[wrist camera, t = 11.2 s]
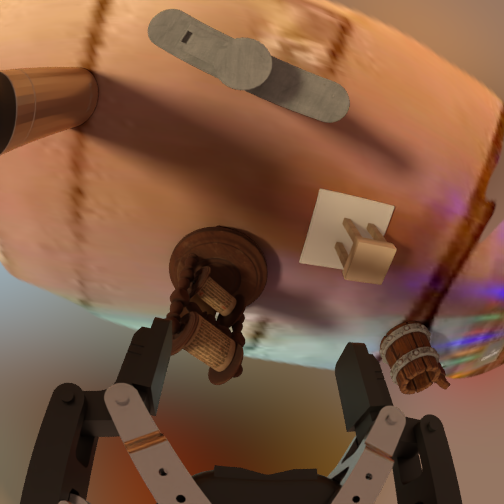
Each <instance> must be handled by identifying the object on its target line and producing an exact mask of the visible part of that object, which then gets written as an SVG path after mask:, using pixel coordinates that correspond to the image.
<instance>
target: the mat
mask: <svg viewBox="0 0 504 504" xmlns="http://www.w3.org/2000/svg"><path fill="white" fill-rule="evenodd" d="M393 210H394V206H393V205H389V204H385V203H381V202H377V201H373V200H369V199H365V198H361V197H357V196H353V195H348V194H344V193H340V192H335V191H331V190H326V189H321V188H320V190H319V193H318V197H317V201H316V204H315V208H314V212H313V215H312V219H311V222H310V226H309V230H308V233H307V237H306V240H305V243H304V247H303V250H302V254H301V257H300V260H299V263H304V264H310V265H317V266H323V267H330V268H336V269H344V268H343V266H342V264H341V261H340V259H339V257H338V255H337V252H336V250H335V248H334V247H335V244H336V242H341V243H343V245H344V247H345V249H346V251H347V253H348V255H349V253H350V250H351V248H352V245H353V242H352V240H351V238H350V236H349V235H348V233H347V231H346V229H345V228H344V226H343V224H342V223H343V220H344V218H348V219H351V221H352V222H353V224H354V225H355V227H356V228H357V230H358V231H359V233H360V234H361V236H362V237H364V238H369V239H373V238H372V236H371V235H370V234H369V232H368V231H367V229H366V228H367V225H368V223H371V224H374V225H375V226H376V227H377V229H378V230H379V231H380V233H381V234H382V235H383V237H384V234H385V232H386V229H387V226H388V224H389V221H390V218H391V216H392V213H393Z"/></svg>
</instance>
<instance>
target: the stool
mask: <svg viewBox="0 0 504 504" xmlns="http://www.w3.org/2000/svg"><path fill="white" fill-rule="evenodd" d="M342 224H343V226H344V228H345V229H346V231H347V233H348V235H349V236H350V238H351V240H352V242H353V245H352V248H351V250H350V253H349V255H348V253H347V251H346V249H345V247H344V245H343V243H341V242H336V244H335V247H334V248H335V250H336V252H337V255H338V257H339V259H340V261H341V264H342V266H343V268H344V269H343V271H342V274H343V276H344V279H345V280H351V281H358V282H365V283H372V284H379V285H381V284H382V282H383V280H384V278H385V275H386V273H387V271H388V269H389V267H390V264H391V262H392V260H393V257H394V255H395V253H396V250H397V249H396V247H395V246H394V245H393V243H388V242H387V241H386V239H385V238H384V237H383V235H382V234H381V233H380V231H379V230H378V229H377V227H376V226H375V225H374V224H371V223H368V225H367V228H366V229H367V231H368V232H369V234H370V235H371V236H372V238H373V239H369V238H364V237H362V236H361V234H360V233H359V231H358V230H357V228H356V227H355V225H354V224H353V222H352V221H351V219H348V218H344V220H343V223H342Z"/></svg>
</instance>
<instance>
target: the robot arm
mask: <svg viewBox="0 0 504 504" xmlns="http://www.w3.org/2000/svg"><path fill="white" fill-rule="evenodd" d="M97 100H98V86H97V82H96V80H95V78H94V76H93V75H92V74H91V73H90V72H89V71H88V70H86V69H84V68H79V67H38V68H20V69H10V70H0V155H2V154H4V153H6V152H9V151H11V150H13V149H16V148H18V147H20V146H23V145H25V144H28V143H30V142H33V141H36V140H38V139H41V138H44V137H46V136H49V135H52V134H55V133H58V132H61V131H64V130H67V129H70V128H73V127H77V126H79V125H81V124H83V123H84V122H85V121H87V120H88V118H89V117H90V116H91V115H92V113H93V111H94V110H95V107H96V104H97ZM171 350H172V320H168V319H162V318H157V317H155V318H154V321H153V323H152V326H151V328H147V327H141V328H140V329H139V330H138V331H137V332H136V333H135V334H134V336H133V338H132V341H131V344H130V346H129V349H128V352H127V353H126V356H125V359H124V361H123V364H122V367H121V370H120V372H119V375H118V377H117V380H116V382H115V383H114V384H113V385H112V386H110V387H109V388H108V389H106V390H102V391H82V390H81V388H80V387H79V386H77V385H76V384H73V383H64V384H61V385H59V386H58V387H57V388H56V389H55V390H54V392H53V394H52V397H51V399H50V402H49V405H48V407H47V410H46V413H45V416H44V419H43V422H42V424H41V427H40V431H39V434H38V437H37V440H36V443H35V446H34V450H33V453H32V456H31V460H30V464H29V467H28V471H27V475H26V479H25V483H24V487H23V492H22V497H21V502H20V504H90V503H89V502H87V501H86V497H87V492H88V486H89V481H90V475H91V470H92V465H93V460H94V455H95V451H96V447H97V442H98V438H99V437H112V436H113V437H114V436H120V437H121V439H122V441H123V443H124V445H125V447H126V449H127V451H128V453H129V454H130V457H131V459H132V460H133V462H134V464H135V466H136V468H137V470H138V471H139V473H140V475H141V476H142V478H143V480H144V482H145V483H146V485H147V487H148V488H149V489H150V492H151V493H152V495H153V496H154V498H155V500H156V501H157V503H156V504H374V503H375V501H376V499H377V497H378V495H379V493H380V491H381V489H382V487H383V485H384V483H385V481H386V479H387V477H388V475H389V473H390V471H391V469H392V468H393V474H394V481H395V488H396V495H397V501H398V504H462V500H461V495H460V490H459V485H458V481H457V477H456V472H455V468H454V464H453V460H452V456H451V452H450V449H449V445H448V441H447V438H446V435H445V431H444V428H443V425H442V423H441V421H440V420H439V418H437V417H436V416H434V415H425V416H424V417H423V418H422V419H421V420H417V419H413V418H408V417H405V415H404V414H403V412H402V411H401V410H400V409H399V408H397V407H394V406H393V403H392V400H391V397H390V394H389V391H388V388H387V385H386V382H385V380H384V376H383V373H382V370H381V367H380V364H379V362H378V361H377V359H376V358H375V357H374V356H373V354H369V353H368V350H367V347H366V345H365V344H364V343H351V342H349V343H348V344H347V345H346V347H345V349H344V351H343V352H342V354H341V356H340V358H339V360H338V361H337V363H336V367H335V376H336V380H337V385H338V390H339V395H340V399H341V404H342V409H343V414H344V419H345V424H346V430H347V432H351V431H355V432H356V436H355V437H354V439H353V440H352V442H351V444H350V445H349V447H348V449H347V451H346V452H345V454H344V456H343V457H342V459H341V460H340V462H339V463H338V465H337V466H336V468H335V469H334V470H333V471H332V472H331V473H330V474H329V476H328V477H325V476H322V475H319V474H317V469H293V470H289V471H284V472H280V473H275V474H271V475H265V474H261V473H257V472H254V471H250V470H247V469H243V468H237V467H225V466H216V465H215V467H214V470H211V471H205V472H201V473H198V474H195V475H193V476H191V475H190V474H189V473H188V471H187V470H186V468H185V467H184V465H183V464H182V462H181V461H180V459H179V458H178V456H177V455H176V453H175V451H174V450H173V448H172V447H171V445H170V444H169V442H168V441H167V439H166V437H165V436H164V435H163V434H161V433H160V431H159V430H158V428H157V426H156V425H155V423H154V421H153V419H152V418H151V416H150V415H153V416H156V413H157V409H158V404H159V399H160V396H161V391H162V388H163V384H164V379H165V376H166V372H167V367H168V363H169V360H170V356H171ZM418 454H420V459H421V464H422V468H421V464H420V459H419V455H418Z"/></svg>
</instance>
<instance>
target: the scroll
mask: <svg viewBox="0 0 504 504" xmlns="http://www.w3.org/2000/svg"><path fill="white" fill-rule="evenodd" d="M169 274H170V278H171V281H172V283H173V285H174V287H175V290H174V291H173V293H172V294H171V296H170V301H171V303H172V304H171V305H170V313H168V314H167V317H166V318H165V319H168V320H172V350H171V355H174V354H176V353H178V352H179V351H180V350H181V349H184V350H186V351H187V352H189V353H190V354H191V355H193V356H194V357H196V358H197V359H199V360H201V361H202V362H204V363H205V364H207V365H208V366H210V368H209V373H208V376H209V380H210V382H211V383H212V384H214V385H221V384H224V383H225V382H227V381H228V380H230V379H231V378H232V377H238V376H240V375H241V374H242V371H243V368H242V366H241V363H242V360H243V348H242V347H243V346H244V344H245V338H244V336H243V335H242V333H241V330H242V328H243V324H242V323H243V322H244V319H245V316H244V314H243V312H244V310H245V307H246V306H248V305H250V304H251V303H252V302H254V301H255V300H256V299H257V298H258V297H259V296H260V294H261V293H262V291H263V290H264V287H265V285H266V281H267V264H266V260H265V257H264V255H263V253H262V251H261V250H260V248H259V247H258V246H257V244H256V243H255V242H254V241H252V240H251V239H250V238H249V237H247V236H246V235H244V234H242V233H240V232H238V231H235V230H233V229H229V228H224V227H221V226H216V227H207V228H202V229H198V230H196V231H193V232H191V233H190V234H188V235H186V236H185V237H184V238H183V239H182V240H181V241H180V242H179V243H178V244H177V245H176V247H175V249H174V251H173V253H172V255H171V258H170V263H169ZM216 312H219V315H218V318H217V321H216V318H215V315H216ZM231 326H232V330H233V332H232V333H231V331H230V329H229V327H231Z"/></svg>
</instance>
